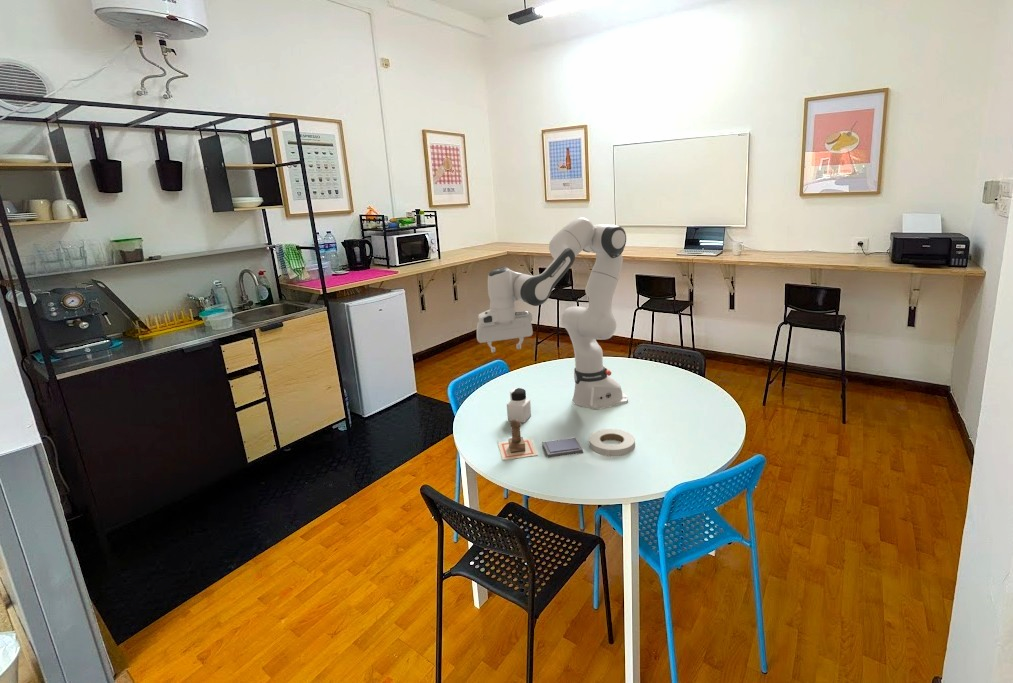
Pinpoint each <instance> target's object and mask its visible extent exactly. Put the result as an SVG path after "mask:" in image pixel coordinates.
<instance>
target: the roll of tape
mask: <svg viewBox="0 0 1013 683" xmlns="http://www.w3.org/2000/svg"><path fill="white" fill-rule="evenodd" d="M588 441H589V442H588V443H589V445H588V446H589V449H590V450H591V451H592V452H594V453H595V454H598V455H600V456H603V457H609V458H611V457H613V458H616V457H617V458H618V457H623V456H627V455H629V454H631V453H632V452H634V450H635V448H636V438H635V436H634V435H633V434H631V433H630V432H629V431H625V430H622V429H617V428H603V429H600V430H597V431H594V432H592V433H591V434H590V436H589V438H588ZM606 441H616V442H619V443H616V444H609V443H606Z"/></svg>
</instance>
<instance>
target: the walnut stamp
mask: <svg viewBox="0 0 1013 683" xmlns="http://www.w3.org/2000/svg"><path fill="white" fill-rule="evenodd" d="M521 424H522V423H521V422H520V421H519V420H517V419H514V420H512V421H510V423H509V425H510V428H511V438H507V439H508V440H507V441H508V442H509V448H510V451H511V453H517V452H524V451H525V442H524V439H525V438H524V437H523V436H521Z"/></svg>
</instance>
